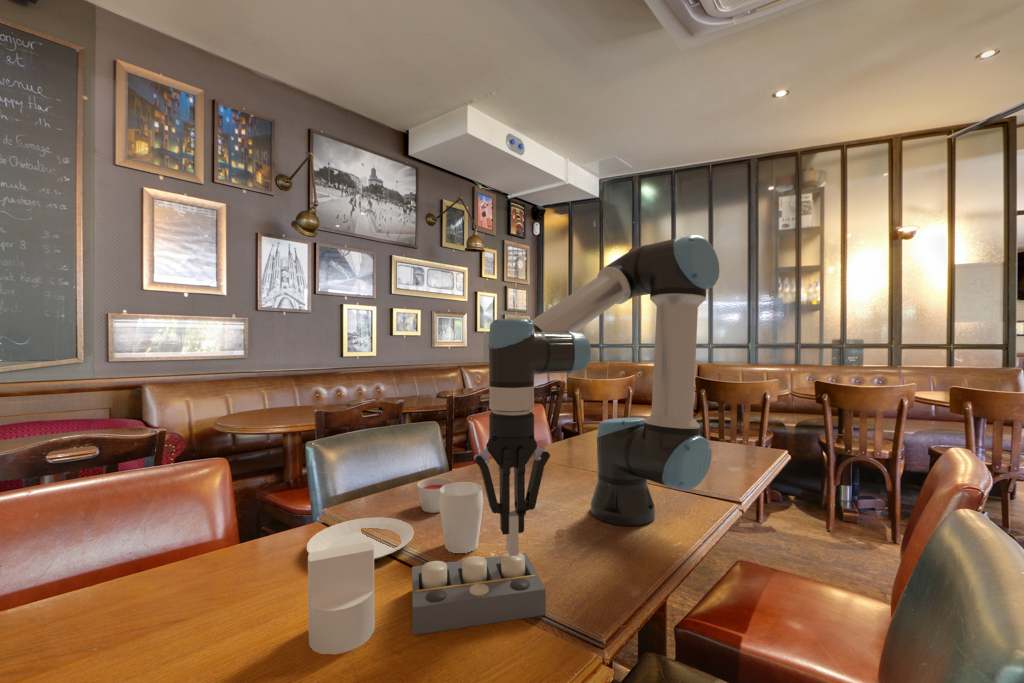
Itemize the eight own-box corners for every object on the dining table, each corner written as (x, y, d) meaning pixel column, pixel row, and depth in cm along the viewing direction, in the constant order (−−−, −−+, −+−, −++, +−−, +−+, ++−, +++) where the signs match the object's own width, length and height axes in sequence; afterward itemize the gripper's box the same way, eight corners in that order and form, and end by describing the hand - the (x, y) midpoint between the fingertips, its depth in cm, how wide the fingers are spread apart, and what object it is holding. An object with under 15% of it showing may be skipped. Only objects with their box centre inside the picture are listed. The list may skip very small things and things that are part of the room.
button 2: (484, 577, 76) (484, 554, 76) (488, 590, 72) (488, 566, 72) (461, 580, 75) (460, 557, 75) (464, 593, 71) (463, 569, 71)
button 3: (446, 582, 75) (445, 559, 75) (448, 595, 71) (448, 571, 71) (421, 585, 74) (421, 562, 74) (422, 599, 70) (422, 574, 70)
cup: (476, 559, 87) (476, 497, 87) (432, 555, 89) (432, 494, 89) (488, 539, 96) (487, 482, 96) (448, 535, 98) (447, 480, 98)
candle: (440, 499, 120) (440, 475, 120) (460, 508, 114) (460, 483, 114) (410, 508, 114) (410, 483, 114) (429, 518, 107) (429, 491, 107)
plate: (344, 523, 105) (344, 514, 105) (429, 530, 101) (429, 521, 101) (282, 568, 85) (282, 556, 85) (384, 579, 80) (384, 567, 80)
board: (525, 575, 81) (525, 552, 81) (545, 614, 69) (545, 587, 69) (412, 590, 76) (412, 565, 76) (412, 635, 65) (412, 606, 65)
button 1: (521, 572, 78) (521, 550, 78) (527, 584, 74) (527, 561, 74) (499, 575, 77) (499, 553, 77) (504, 588, 73) (503, 564, 73)
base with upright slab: (308, 662, 59) (307, 572, 59) (309, 623, 68) (308, 544, 68) (378, 643, 63) (377, 558, 63) (371, 608, 71) (370, 533, 71)
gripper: (542, 406, 80) (543, 538, 80) (469, 409, 77) (470, 546, 77) (555, 413, 73) (556, 558, 73) (476, 416, 70) (477, 567, 70)
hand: (512, 551), depth 75 cm, fingers closed
